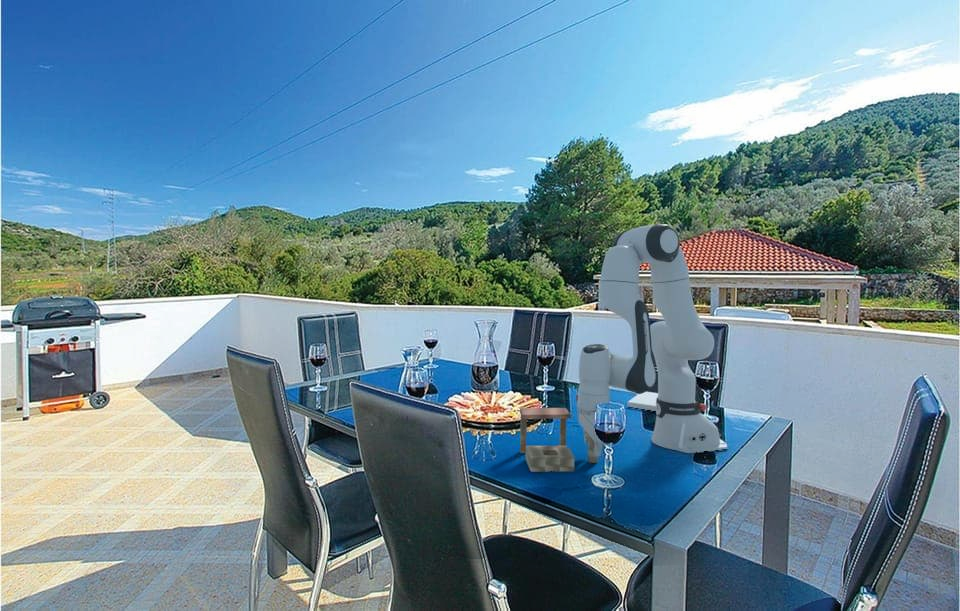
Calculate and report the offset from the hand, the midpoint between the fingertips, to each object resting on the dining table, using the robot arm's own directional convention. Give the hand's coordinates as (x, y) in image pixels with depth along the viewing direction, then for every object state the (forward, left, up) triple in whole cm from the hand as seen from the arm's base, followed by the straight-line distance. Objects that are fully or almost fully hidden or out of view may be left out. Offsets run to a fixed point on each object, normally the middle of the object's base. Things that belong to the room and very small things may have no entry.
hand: (592, 449), depth 140 cm
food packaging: (-43, -61, -4) cm, 75 cm away
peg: (0, 0, -4) cm, 4 cm away
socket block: (+13, +2, -4) cm, 14 cm away
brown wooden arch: (+13, -6, -4) cm, 15 cm away
